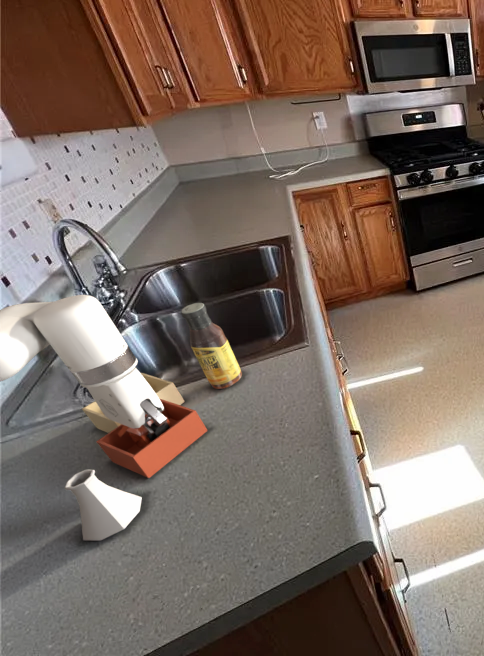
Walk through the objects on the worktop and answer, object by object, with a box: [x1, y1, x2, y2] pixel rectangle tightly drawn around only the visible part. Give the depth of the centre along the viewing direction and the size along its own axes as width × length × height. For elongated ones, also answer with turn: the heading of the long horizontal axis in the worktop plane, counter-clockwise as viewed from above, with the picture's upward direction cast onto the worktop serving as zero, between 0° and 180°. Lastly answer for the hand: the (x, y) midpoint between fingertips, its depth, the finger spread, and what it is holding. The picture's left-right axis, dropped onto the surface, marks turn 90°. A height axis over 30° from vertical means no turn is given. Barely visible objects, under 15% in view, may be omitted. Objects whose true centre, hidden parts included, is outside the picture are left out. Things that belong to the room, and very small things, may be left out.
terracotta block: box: [126, 415, 172, 449], centre depth 77 cm, size 4×4×4 cm
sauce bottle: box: [180, 302, 243, 390], centre depth 89 cm, size 7×6×20 cm
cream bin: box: [81, 372, 185, 434], centre depth 85 cm, size 11×11×6 cm
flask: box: [64, 469, 143, 541], centre depth 64 cm, size 7×7×10 cm
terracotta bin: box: [95, 399, 208, 479], centre depth 77 cm, size 11×11×6 cm
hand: (157, 439), depth 78 cm, fingers closed on terracotta block, 4 cm apart
